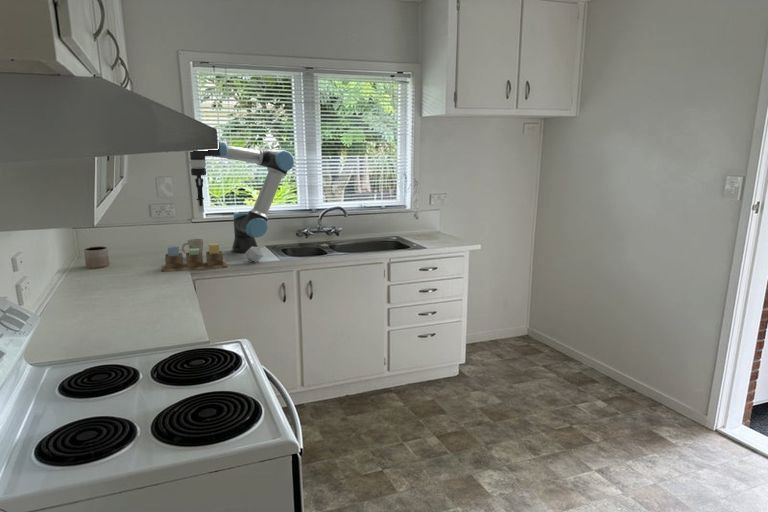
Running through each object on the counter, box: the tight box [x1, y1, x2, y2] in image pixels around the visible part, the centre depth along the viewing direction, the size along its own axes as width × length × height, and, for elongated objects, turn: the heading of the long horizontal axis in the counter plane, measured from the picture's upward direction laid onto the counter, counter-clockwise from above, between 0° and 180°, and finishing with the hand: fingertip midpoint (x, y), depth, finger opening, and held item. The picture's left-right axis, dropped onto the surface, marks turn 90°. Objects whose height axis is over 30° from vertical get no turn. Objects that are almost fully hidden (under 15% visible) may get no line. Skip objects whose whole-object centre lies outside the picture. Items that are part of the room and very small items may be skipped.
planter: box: [83, 246, 110, 269], centre depth 267 cm, size 11×11×10 cm
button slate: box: [167, 244, 180, 256], centre depth 264 cm, size 5×5×7 cm
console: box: [161, 250, 228, 273], centre depth 269 cm, size 32×13×7 cm, turn 110°
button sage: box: [188, 248, 199, 255], centre depth 268 cm, size 5×5×7 cm
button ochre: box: [208, 242, 220, 254], centre depth 271 cm, size 5×5×7 cm
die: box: [244, 246, 264, 263], centre depth 282 cm, size 8×9×10 cm
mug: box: [181, 238, 204, 255], centre depth 289 cm, size 8×13×10 cm, turn 89°
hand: (201, 211), depth 276 cm, fingers closed
